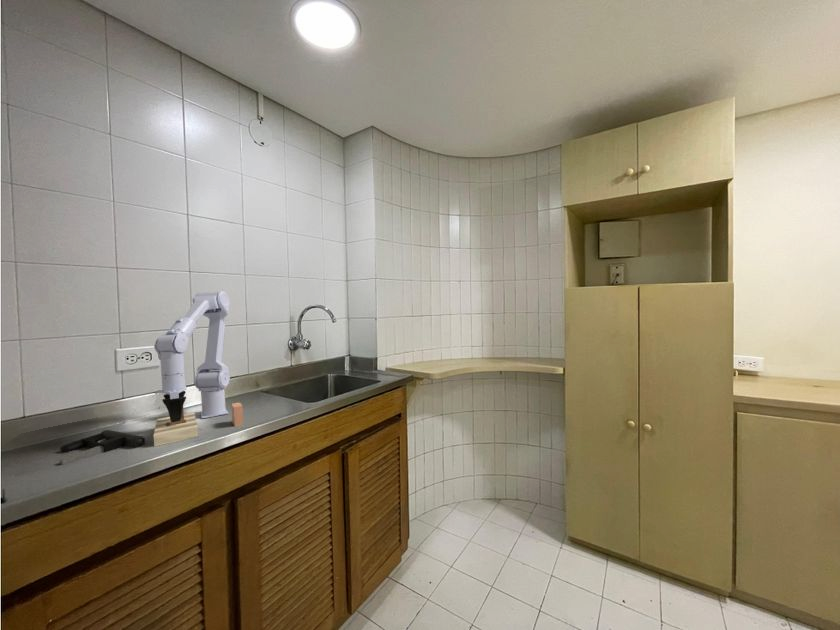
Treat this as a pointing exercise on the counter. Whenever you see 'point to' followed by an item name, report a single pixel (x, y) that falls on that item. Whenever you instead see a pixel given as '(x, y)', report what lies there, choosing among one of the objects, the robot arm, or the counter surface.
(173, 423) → the walnut peg
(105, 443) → the door handle
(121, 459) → the counter surface
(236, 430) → the counter surface
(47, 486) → the counter surface
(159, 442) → the socket block
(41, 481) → the counter surface
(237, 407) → the salmon brown flat block
